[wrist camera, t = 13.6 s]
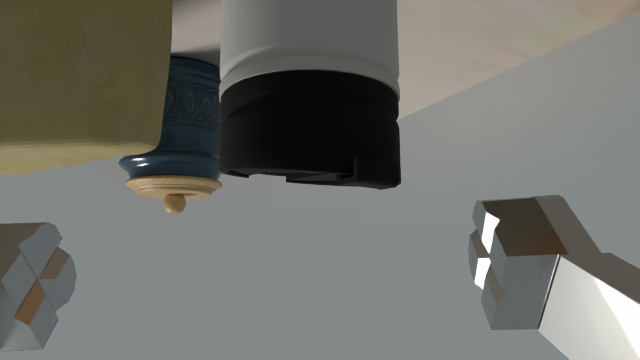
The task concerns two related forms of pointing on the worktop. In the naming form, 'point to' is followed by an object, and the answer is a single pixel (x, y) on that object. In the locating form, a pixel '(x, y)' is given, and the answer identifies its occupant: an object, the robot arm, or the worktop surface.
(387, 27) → the travel mug
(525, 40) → the worktop surface
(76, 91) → the cheese
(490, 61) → the worktop surface
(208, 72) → the canister
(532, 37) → the worktop surface
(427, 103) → the worktop surface
